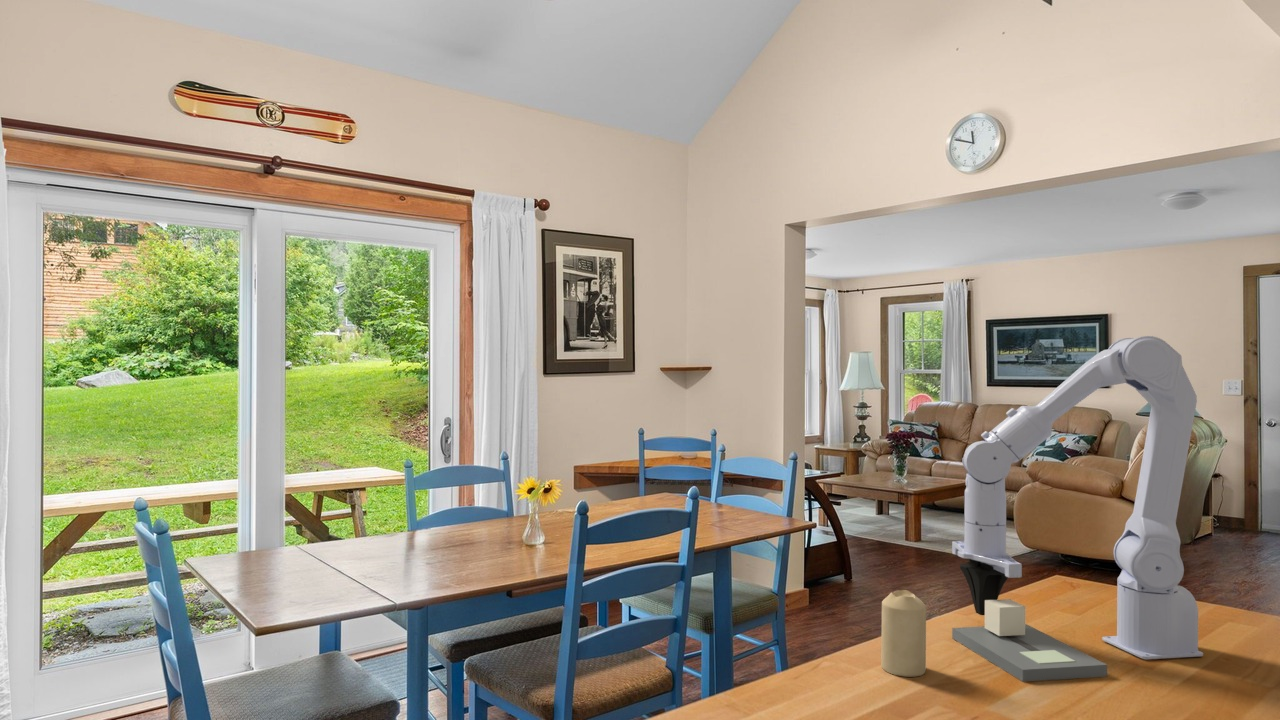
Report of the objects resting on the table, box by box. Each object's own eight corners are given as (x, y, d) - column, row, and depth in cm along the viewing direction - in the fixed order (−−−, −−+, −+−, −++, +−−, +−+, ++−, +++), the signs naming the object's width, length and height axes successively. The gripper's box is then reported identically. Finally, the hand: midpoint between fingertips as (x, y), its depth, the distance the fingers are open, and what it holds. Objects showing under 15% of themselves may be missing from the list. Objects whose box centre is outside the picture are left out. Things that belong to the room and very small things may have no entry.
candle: (928, 679, 101) (929, 600, 101) (883, 675, 102) (884, 597, 102) (922, 663, 106) (922, 588, 106) (879, 659, 107) (879, 585, 107)
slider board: (1026, 634, 118) (1026, 623, 118) (1107, 676, 102) (1107, 663, 102) (952, 638, 116) (952, 627, 116) (1022, 681, 100) (1022, 668, 100)
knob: (1009, 626, 115) (1009, 599, 115) (1025, 634, 112) (1025, 606, 112) (984, 627, 115) (984, 600, 115) (999, 636, 111) (999, 607, 111)
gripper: (934, 513, 125) (933, 600, 125) (989, 533, 111) (989, 631, 110) (975, 512, 126) (975, 598, 126) (1035, 532, 112) (1034, 628, 112)
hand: (984, 613), depth 118 cm, fingers closed
